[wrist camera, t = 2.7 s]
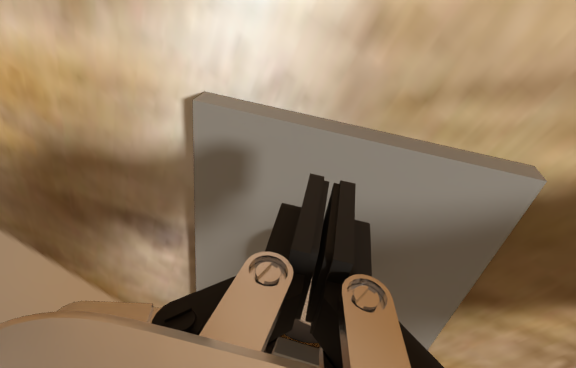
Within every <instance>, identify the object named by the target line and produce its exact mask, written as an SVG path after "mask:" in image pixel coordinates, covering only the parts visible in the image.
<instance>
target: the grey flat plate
mask: <svg viewBox="0 0 576 368" xmlns="http://www.w3.org/2000/svg"><path fill="white" fill-rule="evenodd" d="M193 146H194V201H195V257H196V292H197V291H199V290H202V289H204V288H207V287H209V286H212V285H214V284H217V283H219V282H221V281H224V280H226V279H229V278H231V277H234V276H236V275H237V274H238V272H239V271H240V269H241V268H242V266H243V265H244V263H245V261H246V260H247V259H248V258H249V257H250V256H252V255H254V254H256V253H259V252H265V250H266V247H267V244H268V241H269V238H270V235H271V232H272V229H273V226H274V223H275V221H276V218H277V215H278V212H279V209H280V206H281V204H282V203H286V204H290V205H294V206H298V207H302V203H303V200H304V196H305V192H306V188H307V184H308V180H309V176H310V173H311V174H315V175H320V176H324V181H329V188H328V195H327V201H326V208H325V213H326V210H327V206H328V202H329V198H330V195H331V191H332V187H333V184H334V183H338V184H339V183H340V180H342V181H347V182H351V183H355V184H356V188H355V220H359V221H363V222H367V223H369V224H370V235H371V264H372V277H373V278H375V279H377V280H379V281H380V282H381V283H383V284H384V285H385V286H386V287H387V289H388V290H389V291H390V294H391V296H392V298H393V302H394V306H395V310H396V313H397V317H398V321H399V322H400V323H401V324H402V325H403V326H404V327H405V328H406V329H407V330H408V331H409V332H410V333H411V334H412V335H413V336H414V337H415V338H416V339H417V340H418V341H419V342H420V343H421V344H422V345H423V346H424V347H425V348H426V349H427V350H428V349H429V347H430V346H431V344H432V343H433V342H434V340H435V339H436V337H437V336H438V334H439V333H440V332H441V330H442V329H443V327H444V326H445V325H446V323H447V322H448V320H449V319H450V318H451V316H452V315H453V313H454V312H455V310H456V309H457V308H458V306H459V305H460V303H461V302H462V301H463V299H464V298H465V296H466V295H467V294H468V292H469V291H470V289H471V288H472V286H473V285H474V284H475V282H476V281H477V279H478V278H479V277H480V275H481V274H482V272H483V271H484V270H485V268H486V267H487V265H488V264H489V262H490V261H491V260H492V258H493V257H494V255H495V254H496V253H497V251H498V250H499V248H500V247H501V246H502V244H503V243H504V241H505V240H506V238H507V237H508V236H509V234H510V233H511V231H512V230H513V229H514V227H515V226H516V224H517V223H518V222H519V220H520V219H521V217H522V216H523V214H524V213H525V212H526V210H527V209H528V207H529V206H530V205H531V203H532V202H533V200H534V199H535V198H536V196H537V195H538V193H539V192H540V191H541V189H542V188H543V186H544V185H545V183H546V182H547V181H546V180H545V178H544V177H543V176H542V175H541V173H540V172H539V171H538V170H537V169H536V167H535V166H531V165H527V164H523V163H518V162H514V161H509V160H505V159H501V158H496V157H492V156H487V155H483V154H478V153H474V152H470V151H465V150H461V149H456V148H452V147H447V146H443V145H439V144H434V143H430V142H425V141H421V140H417V139H412V138H408V137H403V136H399V135H394V134H390V133H386V132H381V131H377V130H372V129H368V128H363V127H359V126H355V125H350V124H346V123H341V122H337V121H333V120H328V119H324V118H319V117H315V116H310V115H306V114H302V113H297V112H293V111H288V110H284V109H279V108H275V107H271V106H266V105H262V104H257V103H253V102H249V101H244V100H240V99H235V98H231V97H226V96H222V95H218V94H213V93H209V92H203V93H202V94H201V95H199V96H198V97H196V98H195V99H193ZM324 217H325V214H324ZM310 327H311V326H310V325H308V324H305V323H303V322H301V321H300V320H298V319H295V321H294V324H293V328H292V330H291V331H289V332H287V333H285V335H286V336H288V337H290V338H292V339H295V340H298V341H301V342H306V343H318V342H317V341H316V339H315V338H314V337H313V335H312V334H310ZM273 355H275V356H279V357H283V358H286V359H290V360H294V361H298V362H301V363H305V364H309V365H313V366H316V367H319V348H315V347H312V346H309V345H306V344H302V343H299V342H296V341H292V340H289V339H286V338H282V337H279V339H278V343H277V345H276V348H275V350H274V353H273Z"/></svg>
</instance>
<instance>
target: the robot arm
mask: <svg viewBox="0 0 576 368" xmlns="http://www.w3.org/2000/svg"><path fill="white" fill-rule="evenodd" d="M328 188H329V181H324V176H320V175H315V174H311V173H310V176H309V180H308V184H307V188H306V192H305V196H304V200H303V203H302V207H298V206H294V205H290V204H286V203H282V204H281V206H280V209H279V212H278V215H277V218H276V221H275V223H274V226H273V229H272V232H271V235H270V238H269V241H268V244H267V247H266V250H265V252H259V253H256V254H254V255H252V256H250V257H249V258H248V259H247V260H246V261H245V263H244V265H243V266H242V268H241V269H240V271H239V272H238V274H237V275H236V276H234V277H231V278H229V279H226V280H224V281H221V282H219V283H217V284H214V285H212V286H209V287H207V288H204V289H202V290H199V291H197V292H194V293H192V294H189V295H187V296H185V297H182V298H180V299H177V300H175V301H172V302H170V303H168V304H167V305H165V306H163V307H162V308H158V307H153V304H151V303H125V302H99V301H80V302H73V303H71V304H68V305H66V306H63V307H62V308H61V309H59V310H58V311H57V312H48V313H39V314H33V315H28V316H22V317H19V318H15V319H11V320H8V321H6V322H3V323H0V368H444V367H443V366H442V365H441V364H440V363H439V362H438V361H437V360H436V359H435V358H434V357H433V356H432V355H431V354H430V353H429V352H428V351H427V349H426V348H425V347H424V346H423V345H422V344H421V343H420V342H419V341H418V340H417V339H416V338H415V337H414V336H413V335H412V334H411V333H410V332H409V331H408V330H407V329H406V328H405V327H404V326H403V325H402V324H401V323H400V322H399V321H398V317H397V313H396V310H395V306H394V302H393V298H392V296H391V294H390V291H389V290H388V289H387V287H386V286H385V285H384V284H383V283H381V282H380V281H379V280H377V279H375V278H373V277H372V264H371V235H370V224H369V223H367V222H363V221H359V220H355V188H356V184H355V183H351V182H347V181H342V180H340V183H339V184H338V183H334V184H333V187H332V191H331V195H330V198H329V202H328V206H327V210H326V213H325V208H326V201H327V195H328ZM324 214H325V217H324ZM311 280H312V281H311ZM310 283H311V288H310V294H309V300H308V306H307V312H306V319H305V322H309V323H311V327H310V334H312V335H313V337H314V338H315V339H316V341H317V342H318V343H319V345H320V348H319V367H316V366H313V365H309V364H305V363H301V362H298V361H294V360H290V359H286V358H283V357H279V356H275V355H273V353H274V350H275V348H276V345H277V343H278V339H279V337H280V336H282V335H284V334H285V333H287V332H289V331H291V330H292V328H293V324H294V321H295V319H298V320H300V319H301V315H302V312H303V308H304V305H305V301H306V298H307V294H308V290H309V287H310Z"/></svg>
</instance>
